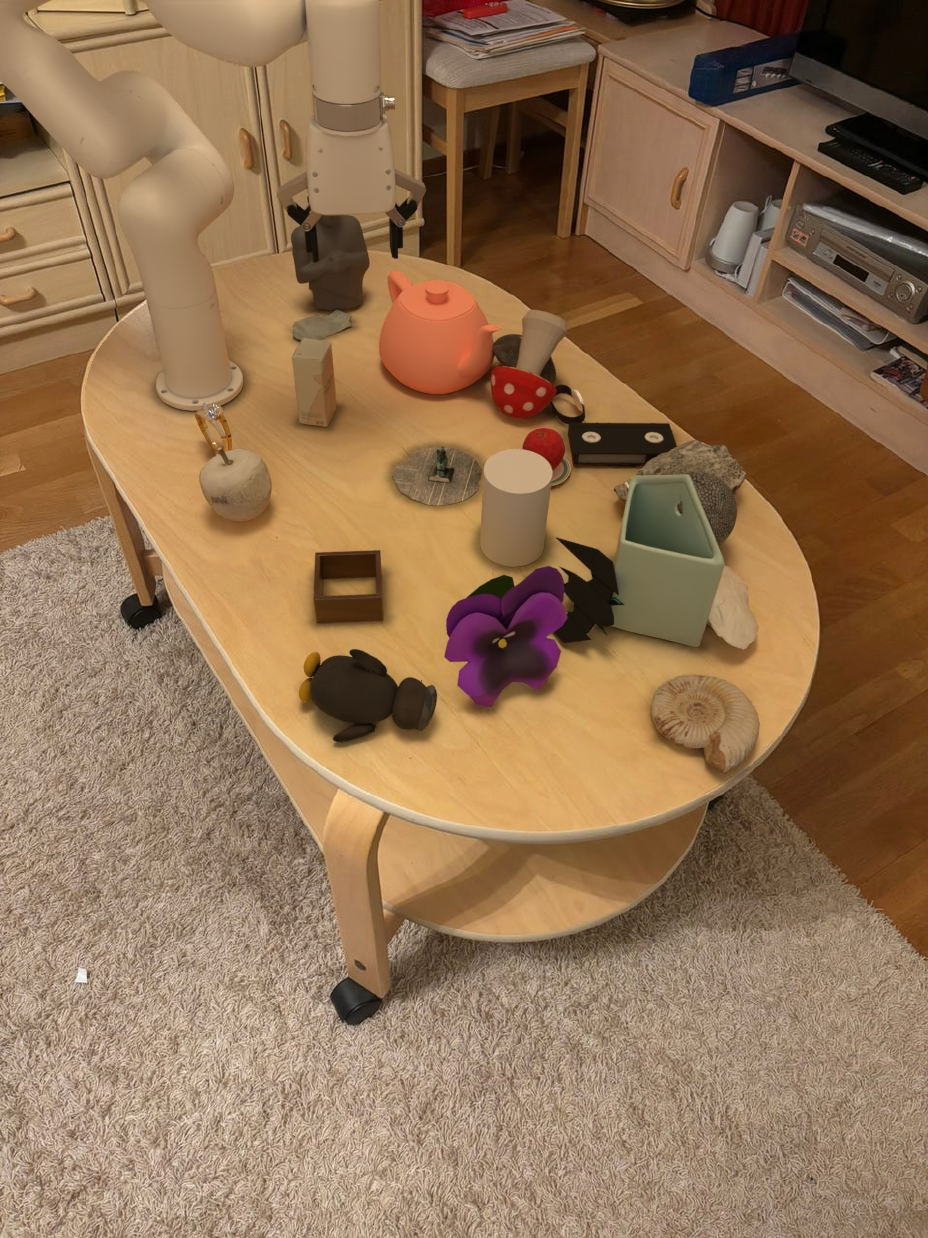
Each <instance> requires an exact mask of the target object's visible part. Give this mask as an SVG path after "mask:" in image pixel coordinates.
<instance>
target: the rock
mask: <svg viewBox="0 0 928 1238" xmlns="http://www.w3.org/2000/svg"><path fill="white" fill-rule="evenodd" d="M728 449H729V448H728V447H727V445H725V444H714V445H711V444H707V443H705V442H703V441H700V440H699V439H692V440H690V441H686V442H684V443H682V444H681V445H677V447H675V448H674V449H672V450H670V451H669V452H667V453H662V454H660V455H658V456H657V457H655V458H652V459H651V460H650V461H648V462H647V463H646V464H645V465H643V466H642V467H641V468H640V469H639V470H637V472H636V474H634V476H636V475H679V474H683V473H687V472H692V471H700V472H706V473H710V474H712V475H715V476H717V477H718V478H720V479H721V480H722V481H724V482H725V483H726V484H727V485H728V487H729V488H730V489H731V491H732V493H733V495H734V496H735V495H736V493H737V492H738V490H739V489H740V488H741V486H742V485H743V484H744V482H745V480H746V476H747V473H746V471H745V470H744V467H743V466H742V465H741V464H740V462H739V460H737V459H736V458H733V456H732V454H730V452H729V450H728ZM630 480H631V478H629V479H628V480H626V481H625V482H627V483H628V484H630ZM625 482H622V483H621V484H617V485H615V486H614V488H613V492H615V494H616V495H617V497H618V498H619V499H620V500H621V501H622V502H624V503H626V493H625Z"/></svg>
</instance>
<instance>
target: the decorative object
mask: <svg viewBox="0 0 928 1238" xmlns="http://www.w3.org/2000/svg"><path fill="white" fill-rule="evenodd" d="M217 450H218V452H219V454H218V455H215V456H213V457H211V458H210V459H209V460H208V461H207V462H206V463H205V464H204V465H203V467H202V468H201V469H200V472H199V475H198V476H199V477H198V479H199V480H198V482H199V486H200V489H201V491H202V494H203V497H204V498H205V500H206V502H207V503H208V505H209V507H210V508H212V510H214V512H216V513H217V514H218V515H220V517H223V518H224V519H226V520H229V521H232V522H247V521H250V520H253V519H255V518H257V517H258V516H260V515H261V514H262V512H264V511H265V510H266V509H267V507H268V505H269V504H270V500H271V497H272V491H273V490H272V489H273V483H272V482H273V481H272V478H271V474H270V471H269V469H268V466H267V464H266V462H265V460H264V459H263V457H261V456H260V455H259V454H258V453H256V452H254V451H252V450H249V449H244V448H234V449H233V448H232V450H229V451H225V452H224V450H223V447H221V446H220V448H218V449H217Z"/></svg>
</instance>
